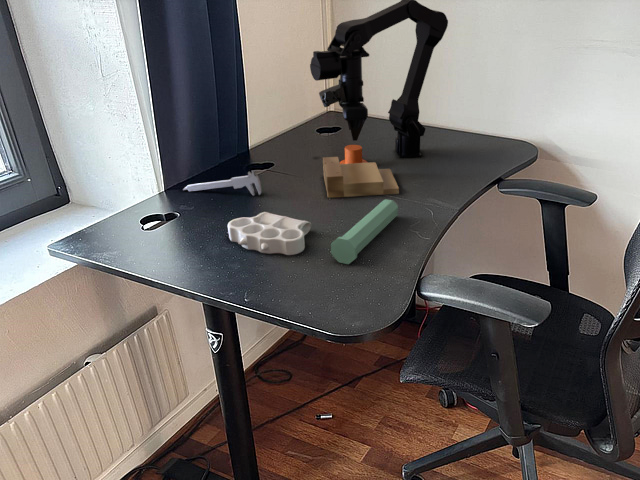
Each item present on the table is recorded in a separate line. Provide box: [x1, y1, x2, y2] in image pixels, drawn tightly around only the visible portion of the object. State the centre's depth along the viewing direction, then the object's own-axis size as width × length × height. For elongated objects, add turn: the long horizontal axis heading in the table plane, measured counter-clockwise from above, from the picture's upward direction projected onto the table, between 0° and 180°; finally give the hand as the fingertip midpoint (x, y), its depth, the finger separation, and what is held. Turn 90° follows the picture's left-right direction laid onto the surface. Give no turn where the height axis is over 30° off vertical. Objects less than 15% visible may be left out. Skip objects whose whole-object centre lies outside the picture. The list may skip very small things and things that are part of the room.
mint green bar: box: [330, 198, 399, 265], centre depth 133 cm, size 6×6×25 cm
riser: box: [322, 156, 400, 199], centre depth 158 cm, size 18×14×6 cm
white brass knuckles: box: [227, 211, 312, 256], centre depth 132 cm, size 3×18×15 cm
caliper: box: [182, 170, 263, 196], centre depth 153 cm, size 20×1×6 cm, turn 83°
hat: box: [339, 144, 369, 164], centre depth 171 cm, size 8×8×5 cm
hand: (353, 135), depth 168 cm, fingers open, 9 cm apart
